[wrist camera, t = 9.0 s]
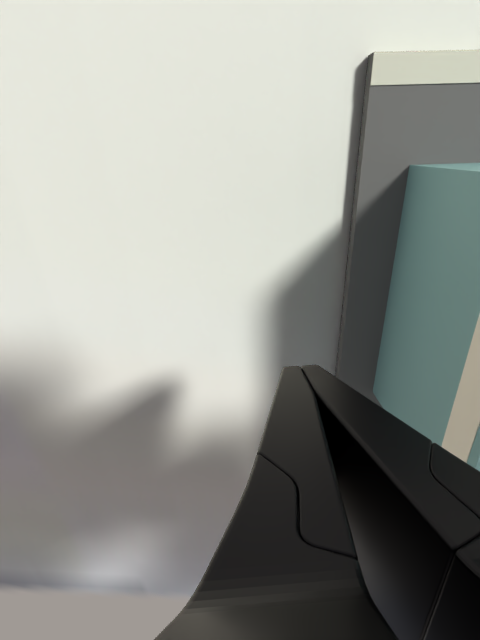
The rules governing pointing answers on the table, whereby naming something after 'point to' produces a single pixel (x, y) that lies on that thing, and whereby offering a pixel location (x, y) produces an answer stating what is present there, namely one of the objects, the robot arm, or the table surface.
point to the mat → (398, 180)
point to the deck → (436, 311)
